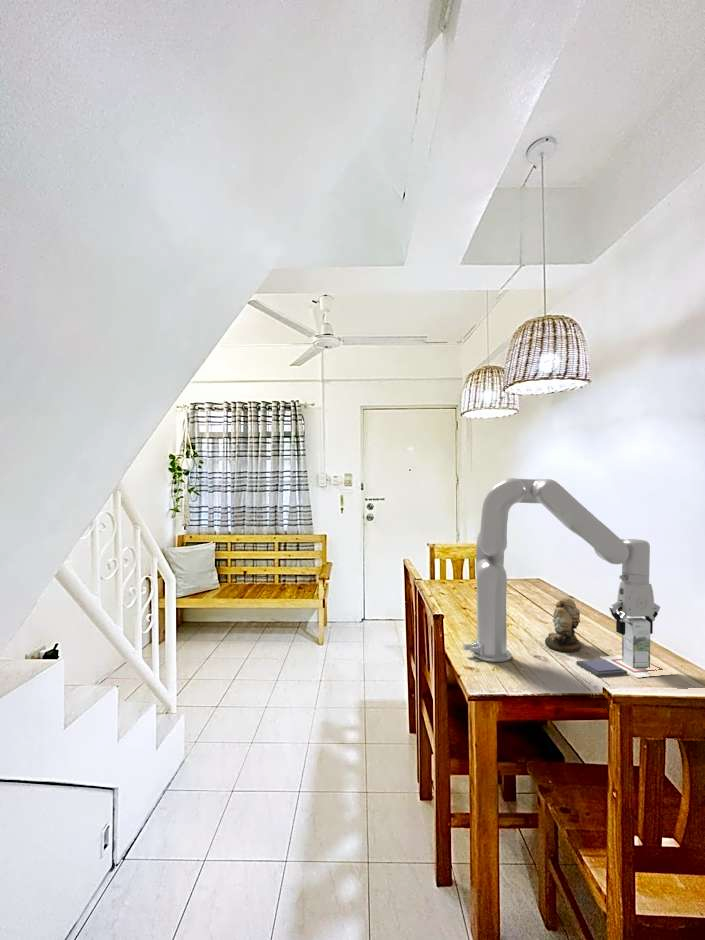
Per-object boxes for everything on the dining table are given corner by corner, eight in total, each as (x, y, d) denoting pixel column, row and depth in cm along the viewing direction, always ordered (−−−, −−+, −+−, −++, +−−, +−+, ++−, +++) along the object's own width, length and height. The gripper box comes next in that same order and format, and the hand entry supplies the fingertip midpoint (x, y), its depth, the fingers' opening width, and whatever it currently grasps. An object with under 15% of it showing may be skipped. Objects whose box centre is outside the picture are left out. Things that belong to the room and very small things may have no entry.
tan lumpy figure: (545, 635, 187) (545, 590, 187) (579, 639, 182) (579, 593, 182) (544, 650, 170) (544, 600, 170) (582, 655, 165) (582, 604, 166)
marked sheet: (637, 678, 146) (637, 676, 146) (599, 657, 163) (599, 656, 163) (678, 674, 149) (678, 673, 149) (636, 654, 165) (636, 653, 165)
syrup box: (638, 661, 159) (638, 615, 159) (651, 668, 153) (650, 621, 153) (621, 661, 159) (621, 616, 159) (633, 668, 153) (632, 621, 153)
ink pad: (597, 676, 147) (597, 672, 147) (576, 664, 157) (576, 660, 157) (626, 674, 149) (626, 670, 149) (604, 662, 159) (604, 658, 159)
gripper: (619, 581, 151) (618, 637, 151) (668, 581, 154) (667, 636, 154) (602, 576, 158) (601, 630, 158) (650, 576, 161) (649, 628, 161)
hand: (634, 633), depth 156 cm, fingers open, 9 cm apart
